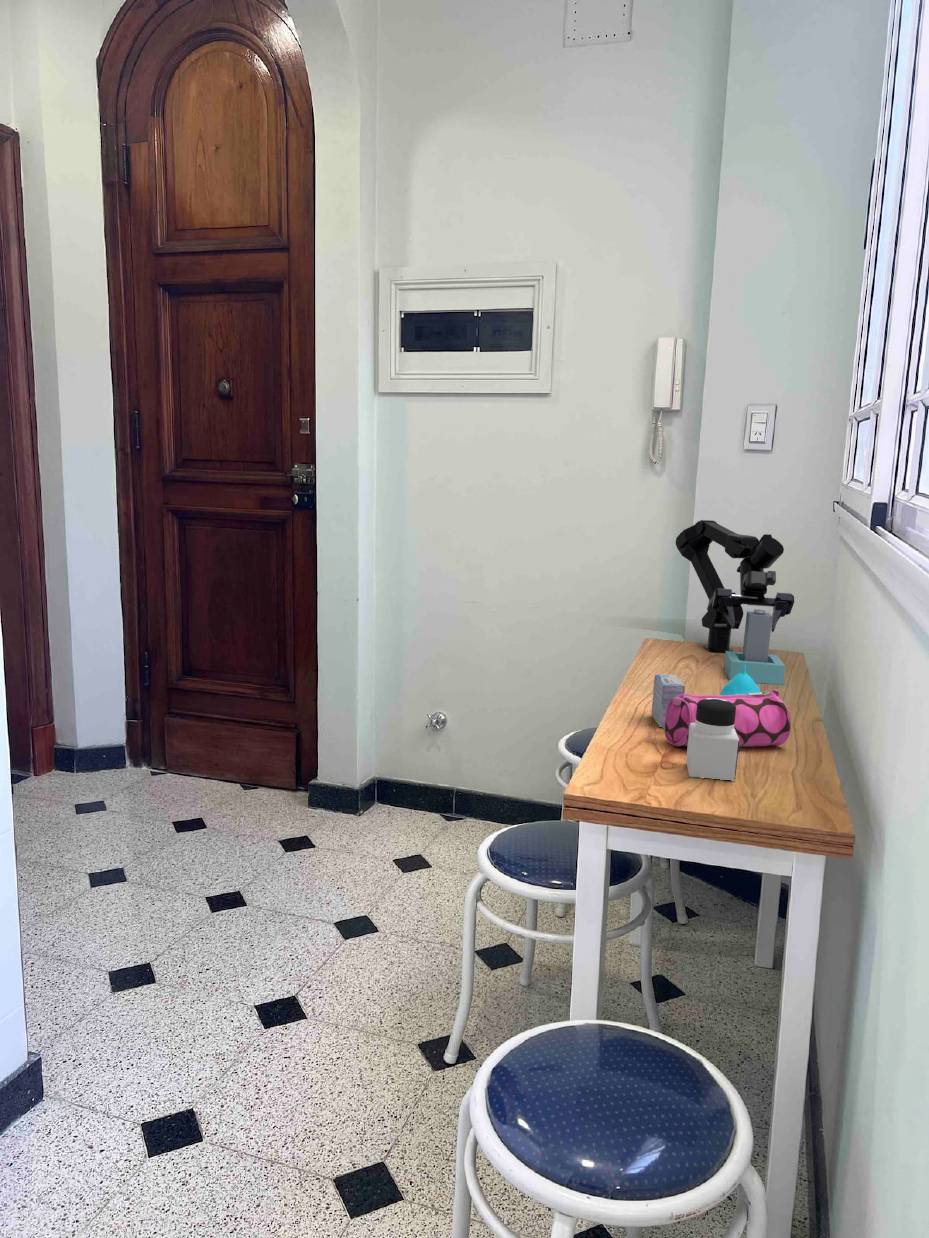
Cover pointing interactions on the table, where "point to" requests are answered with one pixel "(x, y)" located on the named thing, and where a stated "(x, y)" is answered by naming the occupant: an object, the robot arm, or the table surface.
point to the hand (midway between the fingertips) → (753, 629)
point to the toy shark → (740, 685)
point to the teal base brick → (755, 668)
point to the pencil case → (754, 724)
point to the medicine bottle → (713, 741)
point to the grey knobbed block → (757, 636)
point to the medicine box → (665, 695)
